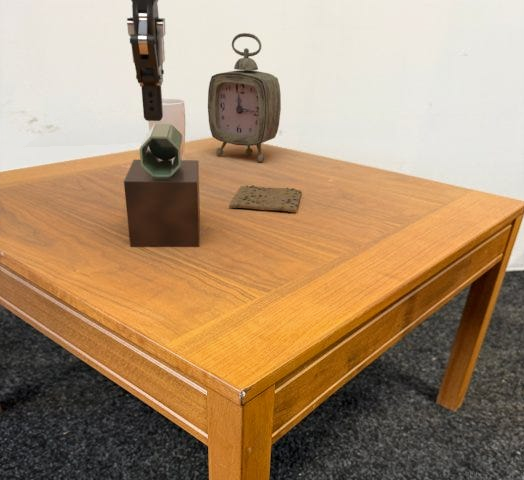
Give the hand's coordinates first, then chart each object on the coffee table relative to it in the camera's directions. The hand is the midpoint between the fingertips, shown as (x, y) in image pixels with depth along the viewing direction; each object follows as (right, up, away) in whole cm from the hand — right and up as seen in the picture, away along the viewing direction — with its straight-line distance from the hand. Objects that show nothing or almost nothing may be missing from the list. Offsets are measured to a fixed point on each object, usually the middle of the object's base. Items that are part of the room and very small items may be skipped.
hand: (153, 119), depth 67 cm
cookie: (+14, -1, +33) cm, 36 cm away
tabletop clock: (+9, +17, +61) cm, 64 cm away
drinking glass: (-5, +4, +40) cm, 40 cm away
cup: (-1, -2, +13) cm, 14 cm away
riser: (-1, -10, +18) cm, 21 cm away
